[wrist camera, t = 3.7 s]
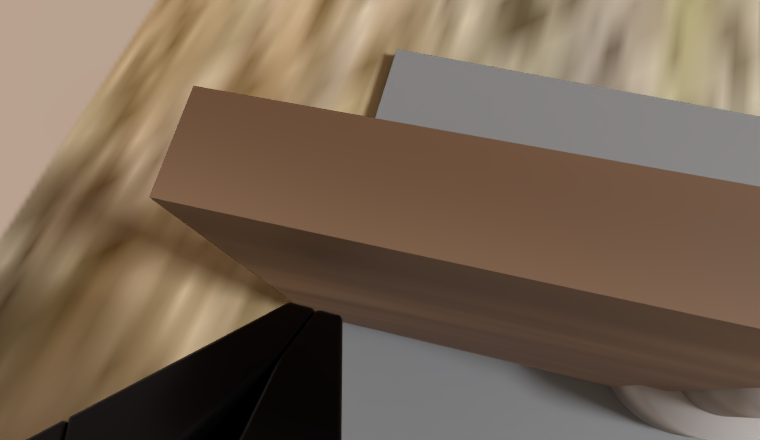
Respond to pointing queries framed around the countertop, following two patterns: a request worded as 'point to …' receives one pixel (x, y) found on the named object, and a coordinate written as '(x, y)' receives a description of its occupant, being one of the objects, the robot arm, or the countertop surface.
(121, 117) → the countertop surface
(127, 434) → the robot arm
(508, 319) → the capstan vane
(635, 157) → the slate base
